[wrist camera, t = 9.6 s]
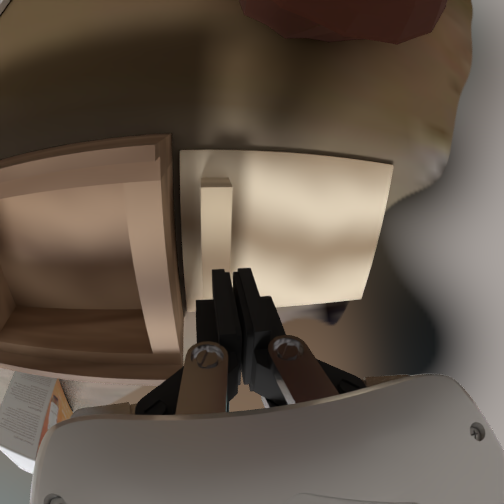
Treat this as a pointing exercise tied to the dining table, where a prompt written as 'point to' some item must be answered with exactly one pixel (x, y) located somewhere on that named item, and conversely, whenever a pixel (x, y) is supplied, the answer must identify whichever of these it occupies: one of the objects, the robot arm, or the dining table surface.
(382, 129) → the dining table surface
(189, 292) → the lid
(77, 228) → the walnut box
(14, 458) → the small box
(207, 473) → the robot arm
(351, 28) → the muffin
